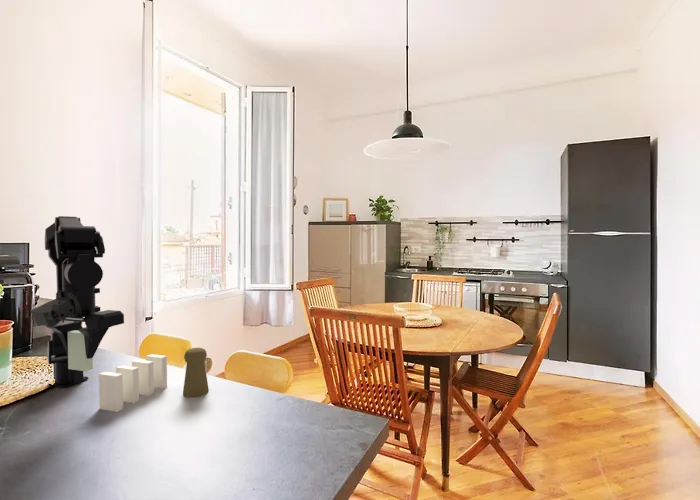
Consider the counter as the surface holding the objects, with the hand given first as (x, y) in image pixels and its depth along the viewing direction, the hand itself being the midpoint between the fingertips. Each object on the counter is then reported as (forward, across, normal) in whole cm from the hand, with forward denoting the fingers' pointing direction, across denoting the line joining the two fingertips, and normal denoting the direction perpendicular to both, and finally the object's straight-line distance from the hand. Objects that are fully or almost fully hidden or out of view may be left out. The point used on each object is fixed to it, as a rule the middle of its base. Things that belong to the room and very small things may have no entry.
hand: (80, 357), depth 83 cm
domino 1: (+13, +2, +5) cm, 14 cm away
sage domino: (+2, 0, 0) cm, 2 cm away
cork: (+13, +14, +19) cm, 27 cm away
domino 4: (+13, +2, +18) cm, 23 cm away
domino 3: (+13, +2, +14) cm, 19 cm away
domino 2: (+13, +2, +10) cm, 16 cm away
